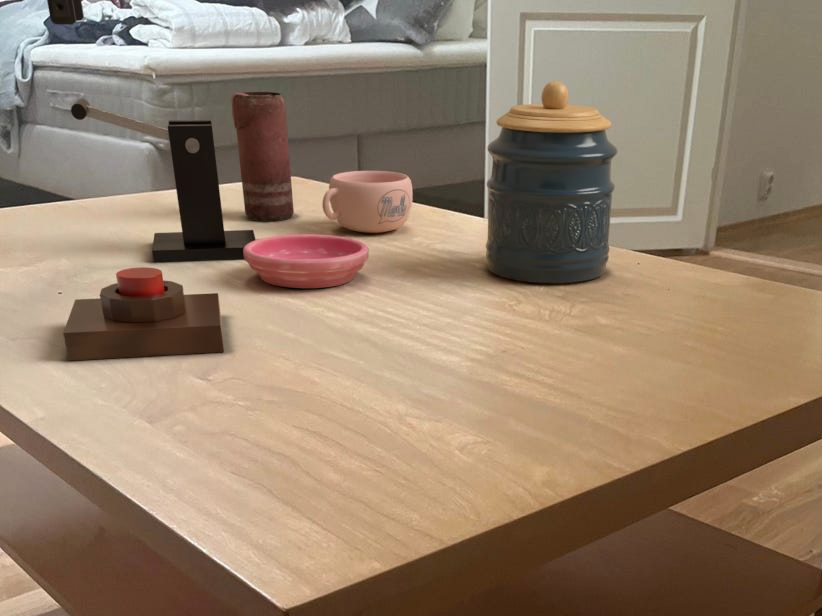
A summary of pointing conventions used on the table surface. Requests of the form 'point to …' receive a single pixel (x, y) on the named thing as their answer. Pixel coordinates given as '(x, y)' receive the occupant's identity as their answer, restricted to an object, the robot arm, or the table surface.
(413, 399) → the table surface
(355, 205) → the mug
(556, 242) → the canister
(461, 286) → the table surface
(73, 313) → the control block
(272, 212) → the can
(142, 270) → the button
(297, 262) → the pink bowl
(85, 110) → the lever
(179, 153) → the bracket
